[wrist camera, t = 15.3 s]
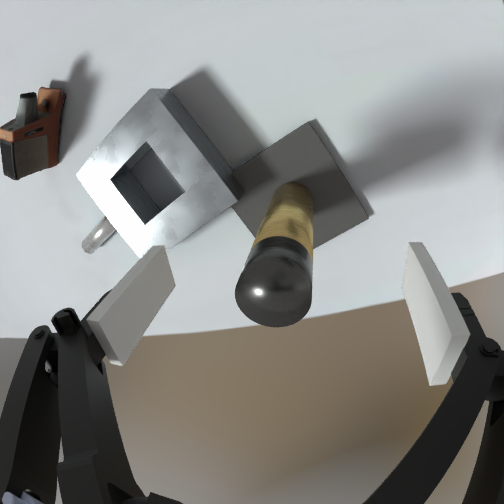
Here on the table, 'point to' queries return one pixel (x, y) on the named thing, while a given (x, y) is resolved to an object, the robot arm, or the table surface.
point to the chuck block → (178, 163)
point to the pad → (303, 172)
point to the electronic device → (32, 134)
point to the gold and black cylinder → (280, 261)
